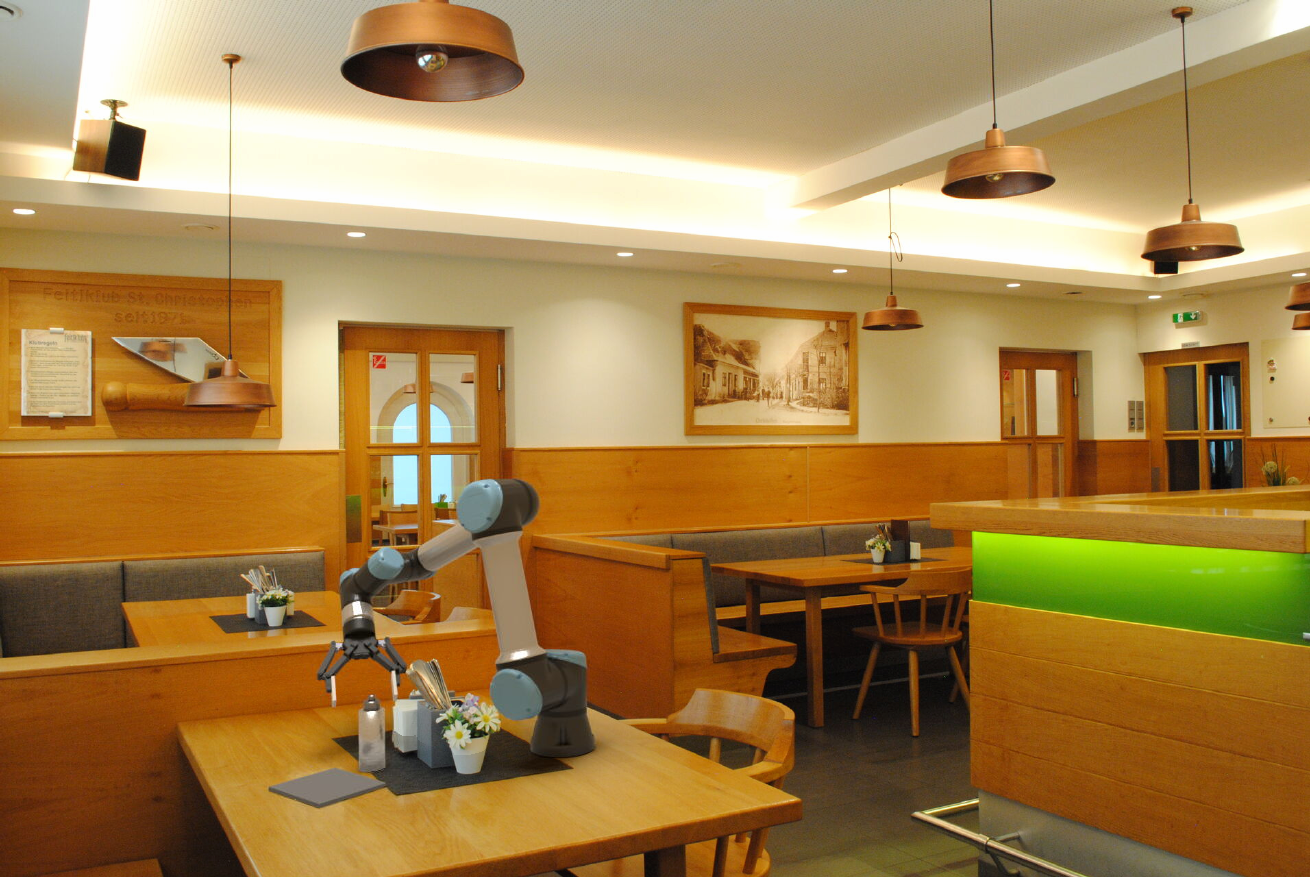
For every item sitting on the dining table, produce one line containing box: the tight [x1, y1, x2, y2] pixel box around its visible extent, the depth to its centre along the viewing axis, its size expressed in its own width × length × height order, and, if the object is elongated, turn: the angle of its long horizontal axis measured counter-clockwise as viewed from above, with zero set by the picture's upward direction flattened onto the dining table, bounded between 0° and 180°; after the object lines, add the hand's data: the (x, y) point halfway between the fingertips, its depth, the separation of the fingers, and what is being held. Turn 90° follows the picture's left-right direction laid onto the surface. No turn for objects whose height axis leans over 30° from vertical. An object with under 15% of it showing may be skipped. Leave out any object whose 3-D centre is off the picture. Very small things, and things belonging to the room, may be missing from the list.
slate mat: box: [268, 767, 387, 809], centre depth 209 cm, size 18×16×1 cm
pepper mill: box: [358, 694, 386, 773], centre depth 223 cm, size 6×6×16 cm
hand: (365, 700), depth 230 cm, fingers open, 13 cm apart
